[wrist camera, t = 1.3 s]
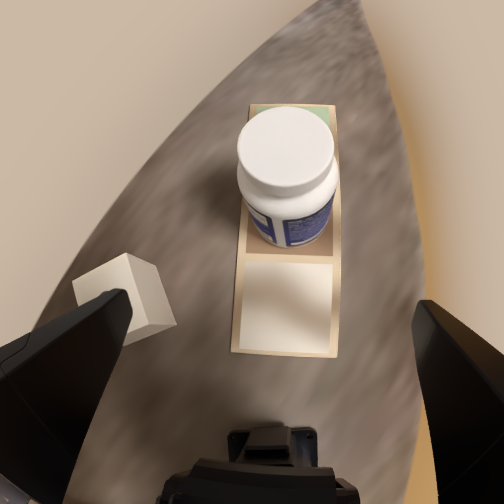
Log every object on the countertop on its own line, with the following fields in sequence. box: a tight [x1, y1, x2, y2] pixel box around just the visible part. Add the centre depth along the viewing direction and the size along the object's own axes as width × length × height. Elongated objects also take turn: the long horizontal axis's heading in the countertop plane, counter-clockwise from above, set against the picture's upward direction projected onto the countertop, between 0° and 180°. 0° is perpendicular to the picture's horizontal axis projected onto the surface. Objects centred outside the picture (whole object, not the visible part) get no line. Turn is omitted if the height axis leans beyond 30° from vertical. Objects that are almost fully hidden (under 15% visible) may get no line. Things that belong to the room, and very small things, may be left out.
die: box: [72, 253, 177, 346], centre depth 22 cm, size 5×5×5 cm
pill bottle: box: [237, 106, 338, 248], centre depth 19 cm, size 6×6×10 cm
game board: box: [231, 104, 341, 358], centre depth 24 cm, size 21×8×1 cm, turn 176°
